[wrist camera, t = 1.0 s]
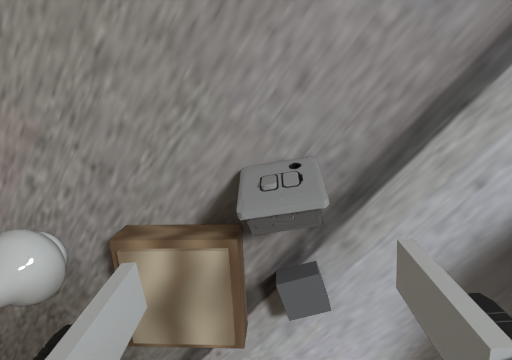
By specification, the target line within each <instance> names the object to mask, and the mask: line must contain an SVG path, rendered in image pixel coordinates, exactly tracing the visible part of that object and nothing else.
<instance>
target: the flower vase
mask: <svg viewBox="0 0 512 360" xmlns="http://www.w3.org/2000/svg"><path fill="white" fill-rule="evenodd" d="M66 263H67V252H66V250H65V247H64V246H63V244H62V243H61V242H60V241H59V240H58V239H57V238H56V237H55V236H53V235H51V234H49V233H46V232H40V231H37V232H36V231H33V230H27V229H14V230H7V231H5V232H3V233H1V234H0V308H2V307H5V306H9V305H11V306H28V305H35V304H37V303H40V302H42V301H45V300H47V299H49V298H50V297H52V296H53V295H54V294H55V293H56V292H57V291H58V290H59V289H60V287H61V286H62V284H63V282H64V279H65V275H66Z"/></svg>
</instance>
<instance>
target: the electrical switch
mask: <svg viewBox="0 0 512 360" xmlns="http://www.w3.org/2000/svg"><path fill="white" fill-rule="evenodd" d="M328 205H329V199H328V195H327V192H326V189H325V185H324V182H323V179H322V176H321V172H320V169H319V166H318V163H317V159H316V158H315V157H305V158H299V159H293V160H287V161H282V162H276V163H270V164H264V165H258V166H252V167H246V168H244V169H242V170H241V174H240V183H239V192H238V201H237V209H236V211H237V216H238V218H239V219H240V220H247V224H248V225H249V227H250V231H251V235H259V234H266V233H273V232H280V231H287V230H294V229H301V228H308V227H315V226H322V223H323V221H322V208H326V207H327V206H328ZM293 215H294V219H295V220H294V219H293V218H292V217H293ZM268 216H270V217H271V218H270V217H268ZM254 218H255V219H254ZM276 220H277V222H276ZM273 223H274V224H273ZM311 223H312V224H311ZM265 230H266V231H265Z"/></svg>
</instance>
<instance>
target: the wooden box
mask: <svg viewBox="0 0 512 360" xmlns="http://www.w3.org/2000/svg"><path fill="white" fill-rule="evenodd" d="M109 243H110V249H111V254H112V259H113V264H114V270H115V271H116V269H117V268H118V267H119V266H120V264H121V263H131V262H136V265H137V268H138V272H139V276H140V280H141V284H142V288H143V292H144V296H145V300H146V304H147V308H146V310H145V312H144V314H143V316H142V318H141V320H140V322H139V324H138V326H137V328H136V329H135V331H134V333H133V335H132V337H131V339H130V341H129V346H148V347H197V348H244V347H245V340H246V333H247V325H248V321H247V306H246V290H245V274H244V258H243V243H242V227H241V224H203V225H126V226H125V227H124V228H123V229H122V230H121V231H119V232H118V233H117V234H116V235H115V236H114V237H113V238H111V239H110V240H109Z"/></svg>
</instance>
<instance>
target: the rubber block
mask: <svg viewBox="0 0 512 360" xmlns="http://www.w3.org/2000/svg"><path fill="white" fill-rule="evenodd" d="M276 287H277V289H278V292H279V295H280V297H281V300H282V302H283V305H284V308H285V310H286V313H287V316H288V318H289V321H291V320H295V319H299V318H303V317H307V316H311V315H315V314H320V313H324V312H328V311H331V307H330V303H329V299H328V295H327V292H326V289H325V286H324V283H323V280H322V277H321V274H320V271H319V268H318V265H317V262H316V261H313V262H310V263H306V264H302V265H298V266H295V267H291V268H287V269H284V270H280V271H276Z"/></svg>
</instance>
